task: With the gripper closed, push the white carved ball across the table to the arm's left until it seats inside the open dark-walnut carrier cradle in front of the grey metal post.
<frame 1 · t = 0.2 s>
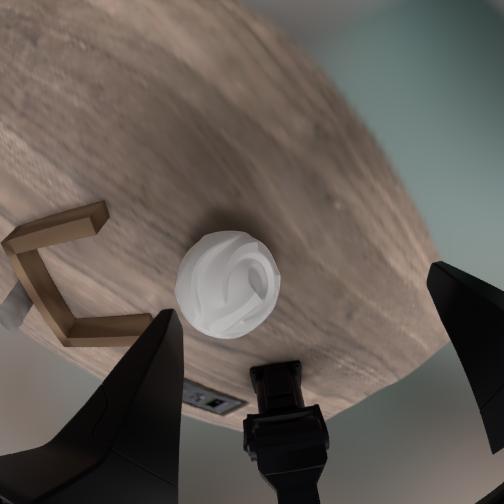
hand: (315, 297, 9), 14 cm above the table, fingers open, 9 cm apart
carrier cradle: (87, 276, 24), on the table
white carved ball: (226, 254, 24), on the table
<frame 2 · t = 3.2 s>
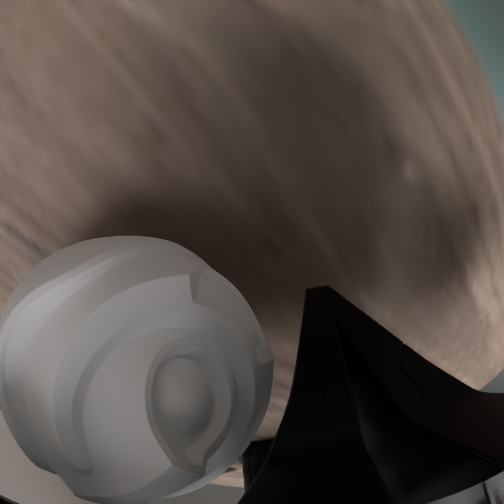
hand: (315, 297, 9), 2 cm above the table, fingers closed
white carved ball: (152, 289, 10), on the table, touching gripper
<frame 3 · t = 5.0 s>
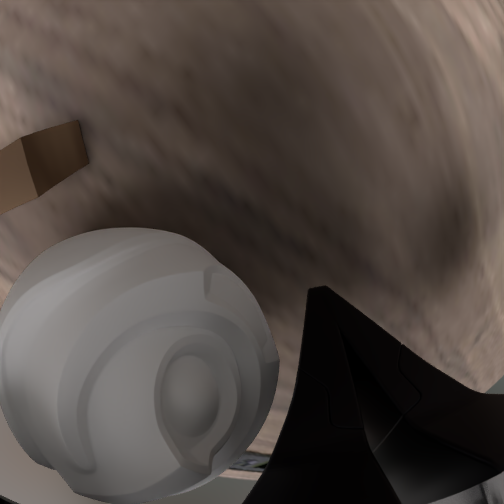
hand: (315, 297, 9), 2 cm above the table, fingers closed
carrier cradle: (51, 310, 10), on the table
white carved ball: (156, 282, 10), on the table, touching gripper
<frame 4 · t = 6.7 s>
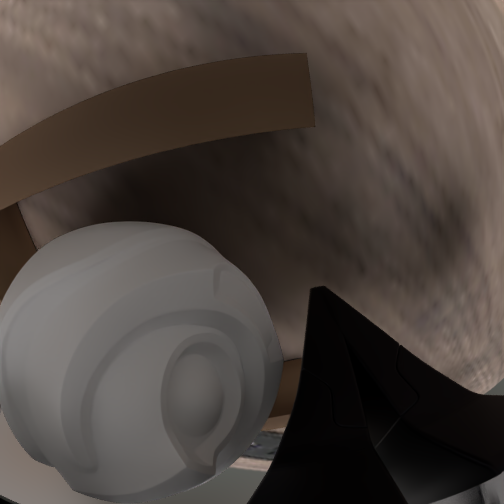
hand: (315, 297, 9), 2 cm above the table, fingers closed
carrier cradle: (166, 292, 10), on the table
white carved ball: (159, 277, 10), on the table, touching gripper
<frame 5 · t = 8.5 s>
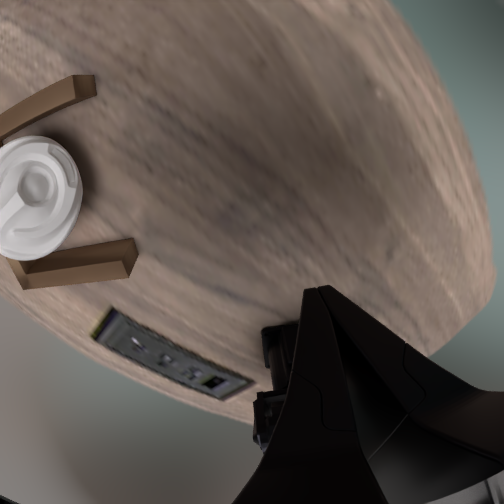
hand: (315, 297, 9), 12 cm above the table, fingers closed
carrier cradle: (58, 185, 17), on the table
white carved ball: (56, 177, 17), on the table
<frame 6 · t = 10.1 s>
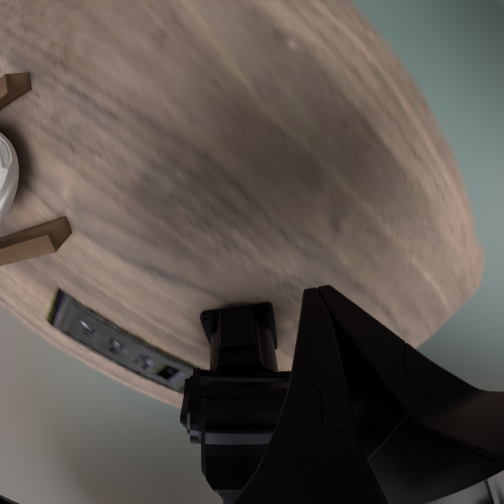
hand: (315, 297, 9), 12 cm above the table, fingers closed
carrier cradle: (7, 172, 16), on the table
white carved ball: (5, 165, 16), on the table
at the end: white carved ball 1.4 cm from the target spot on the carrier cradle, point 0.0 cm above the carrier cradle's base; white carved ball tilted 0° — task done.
